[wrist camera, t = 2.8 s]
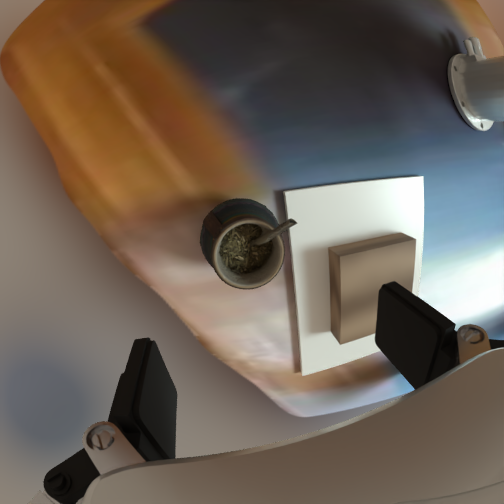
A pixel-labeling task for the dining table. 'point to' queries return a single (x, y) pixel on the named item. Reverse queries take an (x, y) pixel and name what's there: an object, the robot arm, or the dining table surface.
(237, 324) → the dining table surface
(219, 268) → the mate gourd
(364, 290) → the walnut plinth
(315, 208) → the board
